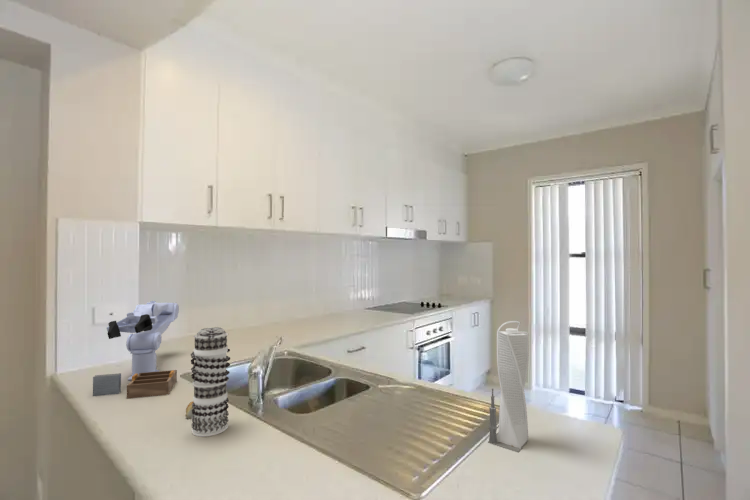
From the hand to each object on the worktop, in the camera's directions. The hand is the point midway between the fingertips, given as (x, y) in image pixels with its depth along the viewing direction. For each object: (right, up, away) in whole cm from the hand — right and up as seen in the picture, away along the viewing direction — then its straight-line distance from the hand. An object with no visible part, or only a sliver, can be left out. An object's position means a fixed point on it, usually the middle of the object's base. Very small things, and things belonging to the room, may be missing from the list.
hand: (122, 332), depth 118 cm
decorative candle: (+38, -19, -24) cm, 49 cm away
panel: (-6, -20, +1) cm, 20 cm away
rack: (+7, -20, +5) cm, 21 cm away
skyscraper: (+112, -19, -31) cm, 117 cm away
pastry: (+30, -20, -14) cm, 39 cm away
